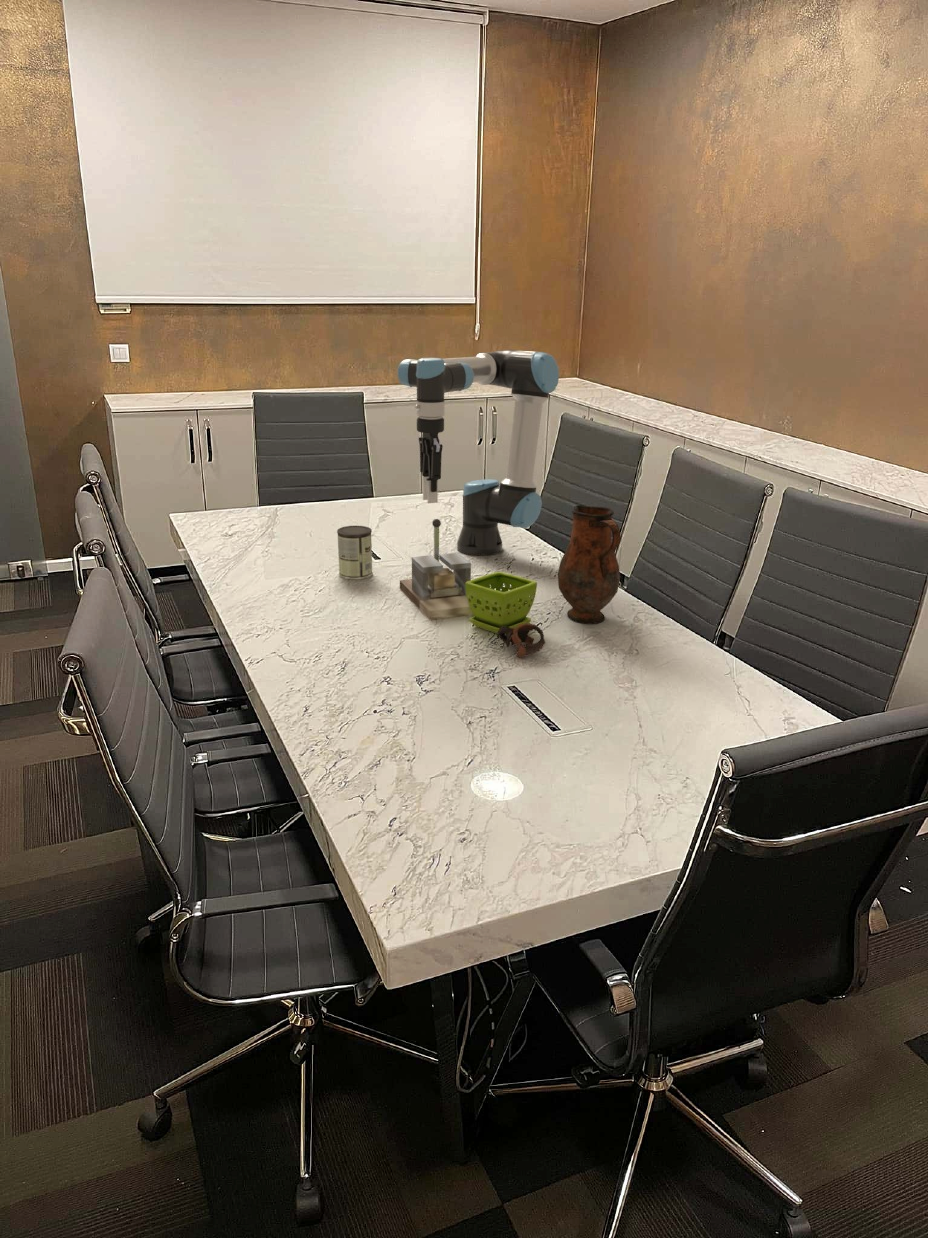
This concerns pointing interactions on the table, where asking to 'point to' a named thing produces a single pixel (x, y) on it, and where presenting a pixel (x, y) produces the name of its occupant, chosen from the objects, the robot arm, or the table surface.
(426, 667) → the table surface
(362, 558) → the coffee can
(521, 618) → the flower pot
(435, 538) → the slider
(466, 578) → the bench vise
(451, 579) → the block
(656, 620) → the table surface
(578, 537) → the pitcher
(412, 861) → the table surface
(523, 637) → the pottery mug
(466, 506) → the robot arm
